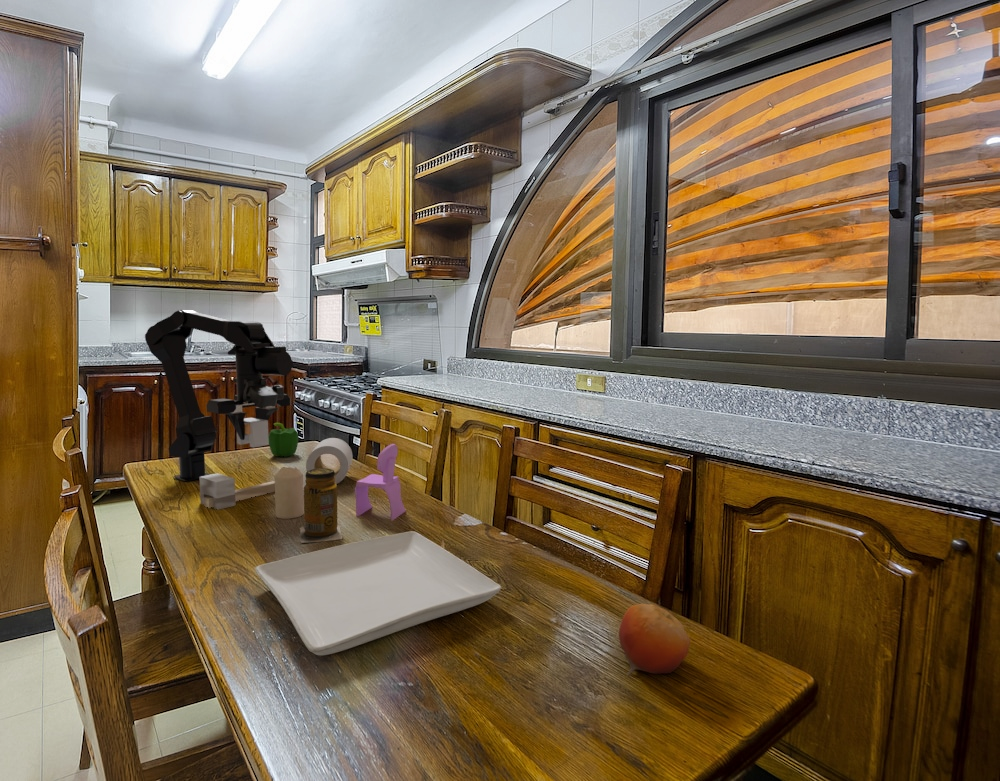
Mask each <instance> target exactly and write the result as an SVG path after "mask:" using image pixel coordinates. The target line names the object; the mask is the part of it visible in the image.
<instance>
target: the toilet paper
mask: <svg viewBox="0 0 1000 781" xmlns="http://www.w3.org/2000/svg"><path fill="white" fill-rule="evenodd" d="M323 455H331V456H334V457H336V458H337V459H338V461H339V465H340V466H338V467H328V466H326V465H325V464H324V462H323V461H322V457H321V456H323ZM352 462H353V451H352V448H351V447H350V446H349V444H348V443H347V442H346V441H345V440H343V439H341V438H336V437H329V438H326V439H323V440H321V441H320V442H318V444H317V445H316V446H315V447H314V448H313V450H312V451H311V453H309V455H308V457H307V459H306V463H305V469H306V470H305V471H306V472H307V471H309V470H311V469H317V468H328V469H332V470H334V473H335V476H334V477H335V481H334V482H335V483H336V485H337V484H340V483H341V482H343V480H344V479H345V478H346V476H347V475H348V472H349V469H350V467H351V464H353V463H352Z"/></svg>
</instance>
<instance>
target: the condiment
mask: <svg viewBox="0 0 1000 781" xmlns="http://www.w3.org/2000/svg"><path fill="white" fill-rule="evenodd" d="M328 468H329V467H328ZM328 468H317V469H311V470H309V471H307V470H306V473H305V485H303V491H304V514H303V516H304V517H303V520H304V521H303V524H304V525H303V526H301V527H299V533H300V534H299V536H300V538H299V539H300V543H303V544H304V543H306V544H307V543H319V542H328V541H336V540H337V541H338V540H343V536H342V532H341V528H340V523H338V519H339V518H338V485H337V484H336V483H335V482H334V481H335V477H334V476H335V473H334V470H332V469H328Z"/></svg>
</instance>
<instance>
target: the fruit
mask: <svg viewBox="0 0 1000 781" xmlns="http://www.w3.org/2000/svg"><path fill="white" fill-rule="evenodd" d="M618 636H619V644H620V647H621V649H622V650H623V655H625V657H626V659H627V662H628V665H629V668H630V669H629V671H628V672H627V674H628V676H630V675H631V674H632V673H633V672H634V671H643V672H646V673H650V674H653V675H654V674H656V675H657V674H671V673H672V672H674V671H675V670H676V669H677V668H678V667H679V666H680V665H681V664H682V662H683V661H684V660H685V658H686V657H687V655H688V653H689V648H690V645H691V638H690V637H689V635H688V634H687V632H686V630H685V627H684V625H683V624H682V623H681V621H679V620H678V618H677V617H675V616H674V615H673V614H672V613H671V612H669V611H668V610H666V609H664V608H662V607H660V606H657V605H656V604H652V603H651V604H647V603H638V604H637V603H636V604H634V605H632V606H630V607H628V608H627V610H626V611H625V613H624V615H623V618H622V620H621V623H620V626H619V630H618Z"/></svg>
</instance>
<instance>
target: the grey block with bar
mask: <svg viewBox="0 0 1000 781" xmlns="http://www.w3.org/2000/svg"><path fill="white" fill-rule="evenodd" d="M210 474H211V475H206V476H201V477H199V479H198V480H199V494H200V496H199V497H200V501H199V502H200V504H201V505H203V504H204V505H203V506H205V508H207V507H208V508H207V509H211V507H212V508H213V510H216V509H217V511H220V510H223V509H226V508H230V507H234V506H236V502H239V500H240V501H244V500H247V499H252V498H255V496H256V497H259V496H263V495H267V493H268V494H272V493H275V480H273V481H267V482H264V483H263V482H262V483H259V484H255V485H251V486H248V487H243V488H238V489H236V483H235V482H236V479H235V477H232V476H228V475H226V474H222V473H218V472H217V473H210ZM251 497H252V498H251Z"/></svg>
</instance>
